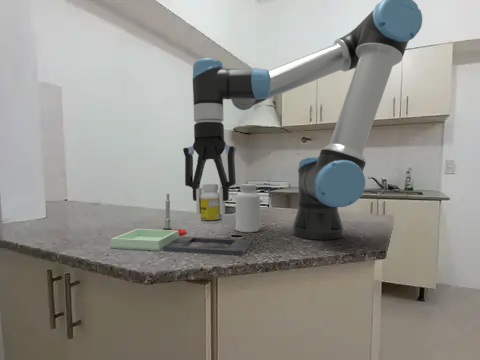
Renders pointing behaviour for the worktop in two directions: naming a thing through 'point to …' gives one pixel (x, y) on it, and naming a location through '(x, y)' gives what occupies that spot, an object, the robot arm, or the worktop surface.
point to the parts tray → (144, 239)
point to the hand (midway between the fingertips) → (211, 213)
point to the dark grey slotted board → (235, 249)
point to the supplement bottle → (210, 205)
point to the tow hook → (167, 220)
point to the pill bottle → (247, 209)
